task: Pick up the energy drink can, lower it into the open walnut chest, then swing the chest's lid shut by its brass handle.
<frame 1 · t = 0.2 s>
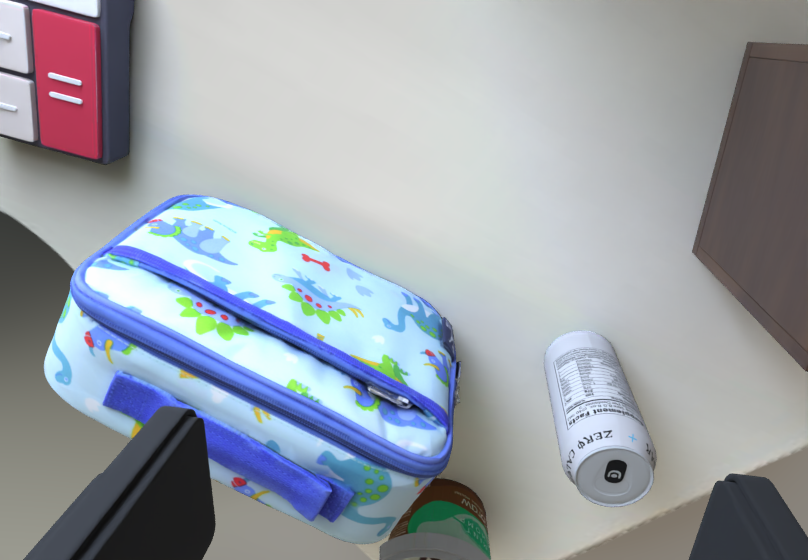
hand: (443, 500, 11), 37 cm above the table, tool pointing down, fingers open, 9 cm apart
lunch box: (320, 289, 51), on the table
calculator: (67, 47, 45), on the table
food container: (458, 497, 58), on the table
energy drink can: (577, 354, 50), on the table
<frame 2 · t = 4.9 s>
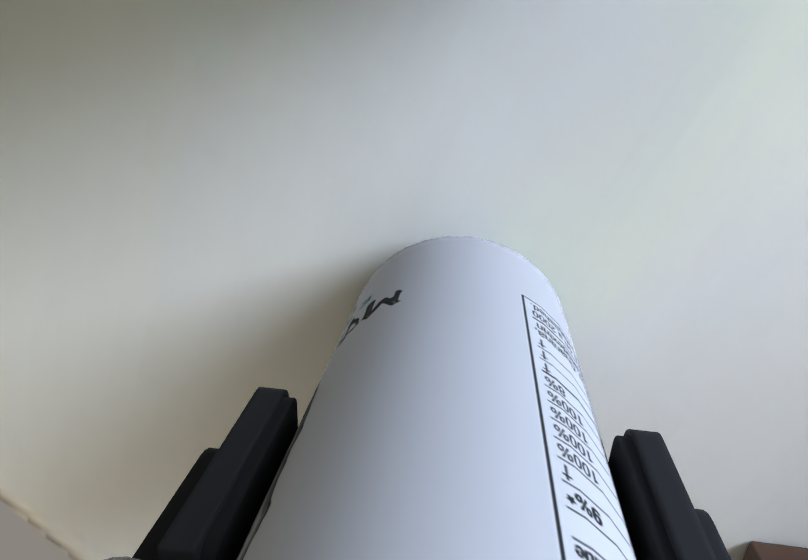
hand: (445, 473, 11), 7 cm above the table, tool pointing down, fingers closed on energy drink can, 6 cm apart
energy drink can: (458, 317, 17), on the table, touching gripper
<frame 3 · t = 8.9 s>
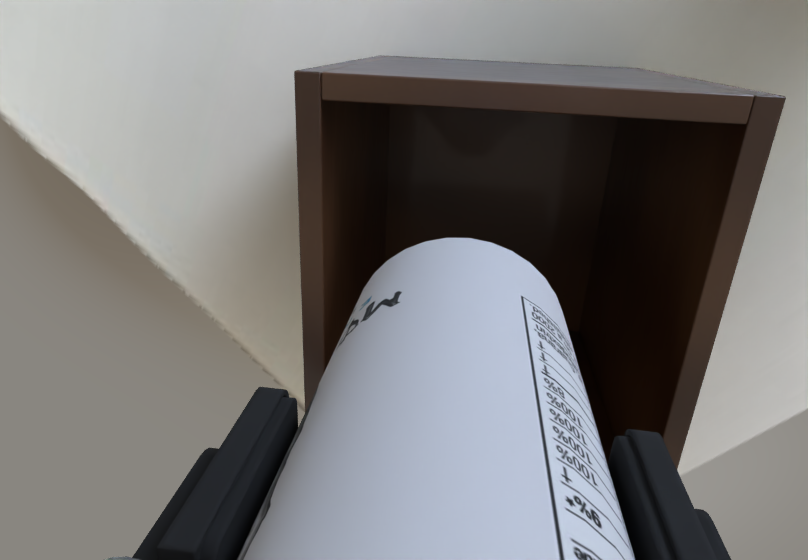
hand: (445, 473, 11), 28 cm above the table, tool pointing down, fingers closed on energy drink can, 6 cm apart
chest: (491, 207, 37), on the table
energy drink can: (458, 318, 17), point 21 cm above the table, touching gripper
when the fingers open (13 cm above the table, at t = 13.0 s): energy drink can drops 5 cm, resting on chest.
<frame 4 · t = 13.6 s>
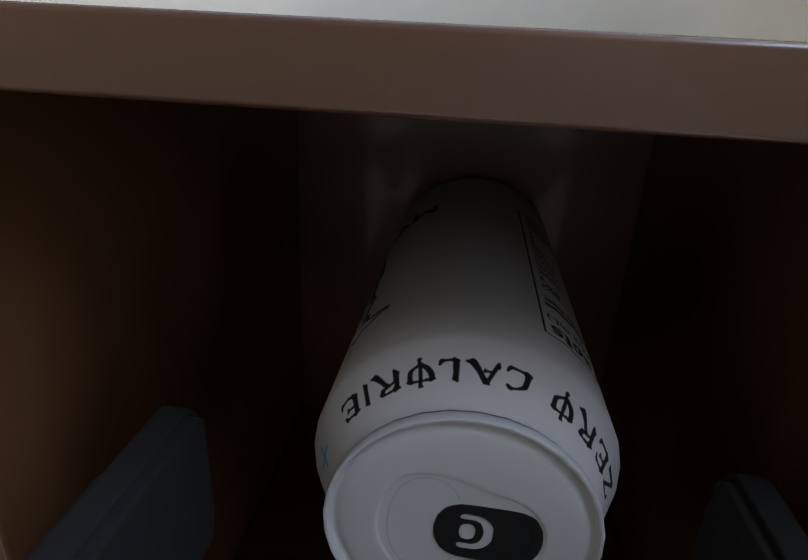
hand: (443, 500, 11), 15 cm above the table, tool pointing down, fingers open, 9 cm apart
chest: (458, 258, 25), on the table
energy drink can: (471, 243, 24), point 1 cm above the table, touching chest
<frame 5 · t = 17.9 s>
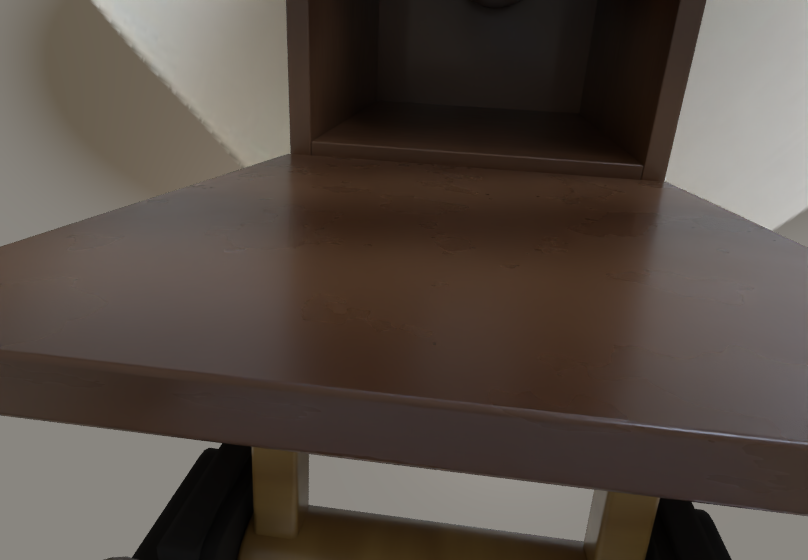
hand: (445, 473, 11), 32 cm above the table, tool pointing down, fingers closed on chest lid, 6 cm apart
chest lid: (459, 313, 15), point 27 cm above the table, hinge at 85.0°, touching gripper
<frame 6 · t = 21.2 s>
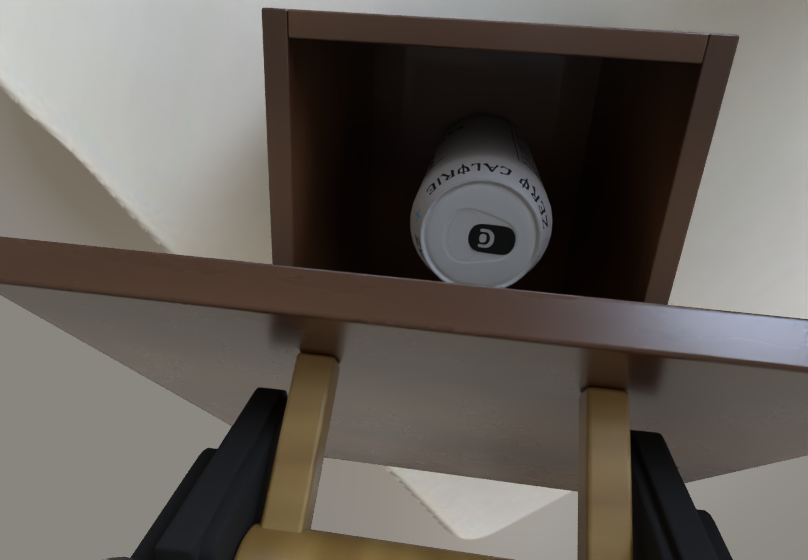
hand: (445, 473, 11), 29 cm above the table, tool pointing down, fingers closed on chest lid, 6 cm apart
chest: (473, 172, 38), on the table
energy drink can: (481, 160, 37), point 1 cm above the table, touching chest
chest lid: (441, 509, 16), point 26 cm above the table, hinge at 41.9°, touching gripper
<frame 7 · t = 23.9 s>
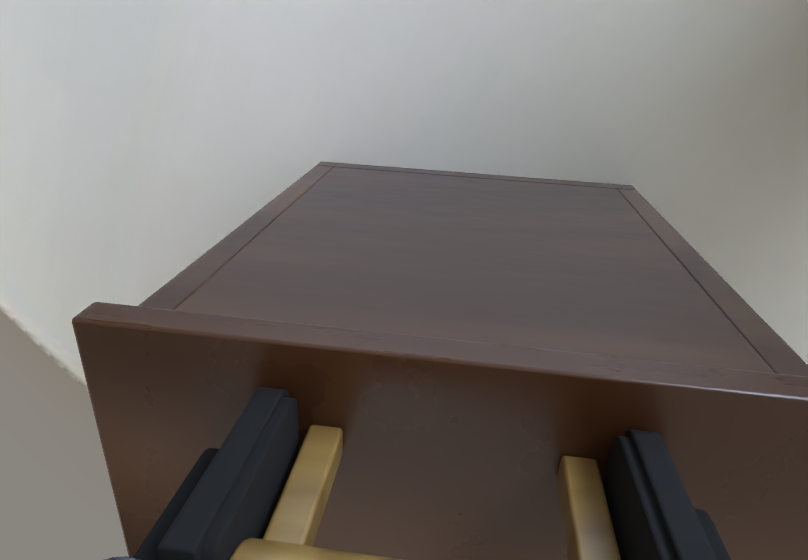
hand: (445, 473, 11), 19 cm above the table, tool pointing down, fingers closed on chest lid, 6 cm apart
chest: (456, 332, 32), on the table
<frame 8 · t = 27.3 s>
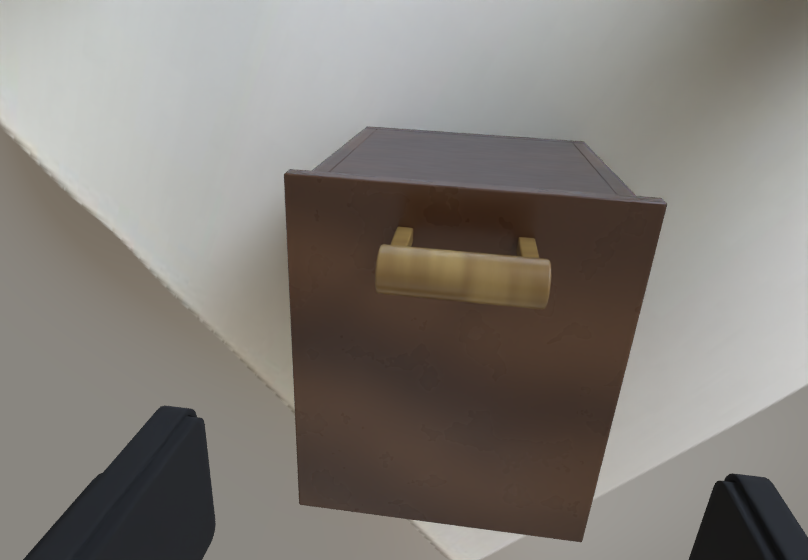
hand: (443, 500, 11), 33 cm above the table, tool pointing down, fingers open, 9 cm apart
chest: (462, 251, 44), on the table
chest lid: (448, 405, 25), point 20 cm above the table, hinge at 2.0°
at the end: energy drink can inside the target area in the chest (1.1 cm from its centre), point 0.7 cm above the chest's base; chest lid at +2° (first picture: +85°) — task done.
